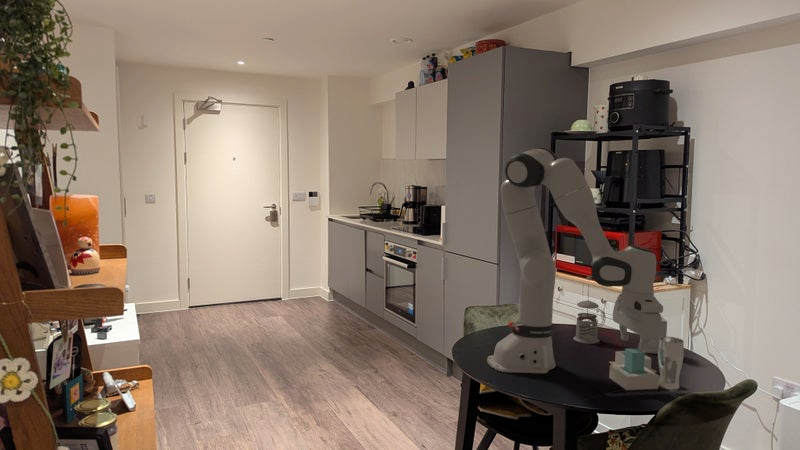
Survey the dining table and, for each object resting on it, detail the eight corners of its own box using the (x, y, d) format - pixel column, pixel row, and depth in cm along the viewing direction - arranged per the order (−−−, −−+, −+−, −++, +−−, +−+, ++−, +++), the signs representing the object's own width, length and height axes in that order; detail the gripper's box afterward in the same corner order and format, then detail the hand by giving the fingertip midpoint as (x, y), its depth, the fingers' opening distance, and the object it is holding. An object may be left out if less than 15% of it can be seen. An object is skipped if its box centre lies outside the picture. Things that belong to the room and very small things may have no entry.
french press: (570, 335, 222) (572, 273, 219) (599, 336, 221) (602, 274, 219) (576, 343, 212) (579, 278, 210) (607, 343, 211) (611, 278, 209)
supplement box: (665, 356, 198) (667, 321, 196) (643, 354, 199) (645, 320, 198) (660, 350, 205) (662, 316, 204) (639, 348, 206) (640, 315, 205)
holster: (625, 375, 178) (626, 361, 177) (608, 364, 188) (609, 350, 188) (657, 374, 179) (658, 360, 179) (638, 363, 190) (639, 349, 190)
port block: (626, 393, 163) (627, 376, 163) (609, 380, 173) (609, 365, 173) (658, 391, 165) (658, 375, 164) (639, 379, 174) (639, 363, 174)
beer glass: (673, 383, 171) (676, 336, 170) (686, 392, 164) (689, 343, 163) (651, 383, 171) (654, 336, 170) (662, 392, 164) (665, 343, 163)
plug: (630, 385, 167) (632, 353, 166) (623, 380, 171) (625, 348, 170) (643, 385, 167) (644, 352, 166) (635, 380, 171) (637, 348, 170)
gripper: (609, 292, 177) (605, 334, 178) (646, 308, 156) (642, 356, 158) (627, 292, 177) (624, 334, 179) (667, 308, 157) (662, 356, 159)
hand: (632, 344), depth 168 cm, fingers open, 8 cm apart
